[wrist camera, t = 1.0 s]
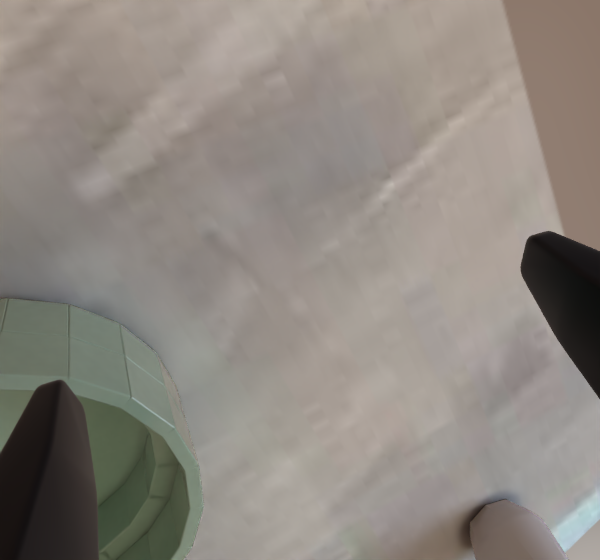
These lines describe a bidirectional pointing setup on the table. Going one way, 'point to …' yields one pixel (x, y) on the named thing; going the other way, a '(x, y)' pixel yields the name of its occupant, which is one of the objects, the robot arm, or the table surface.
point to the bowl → (110, 422)
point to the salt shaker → (512, 534)
